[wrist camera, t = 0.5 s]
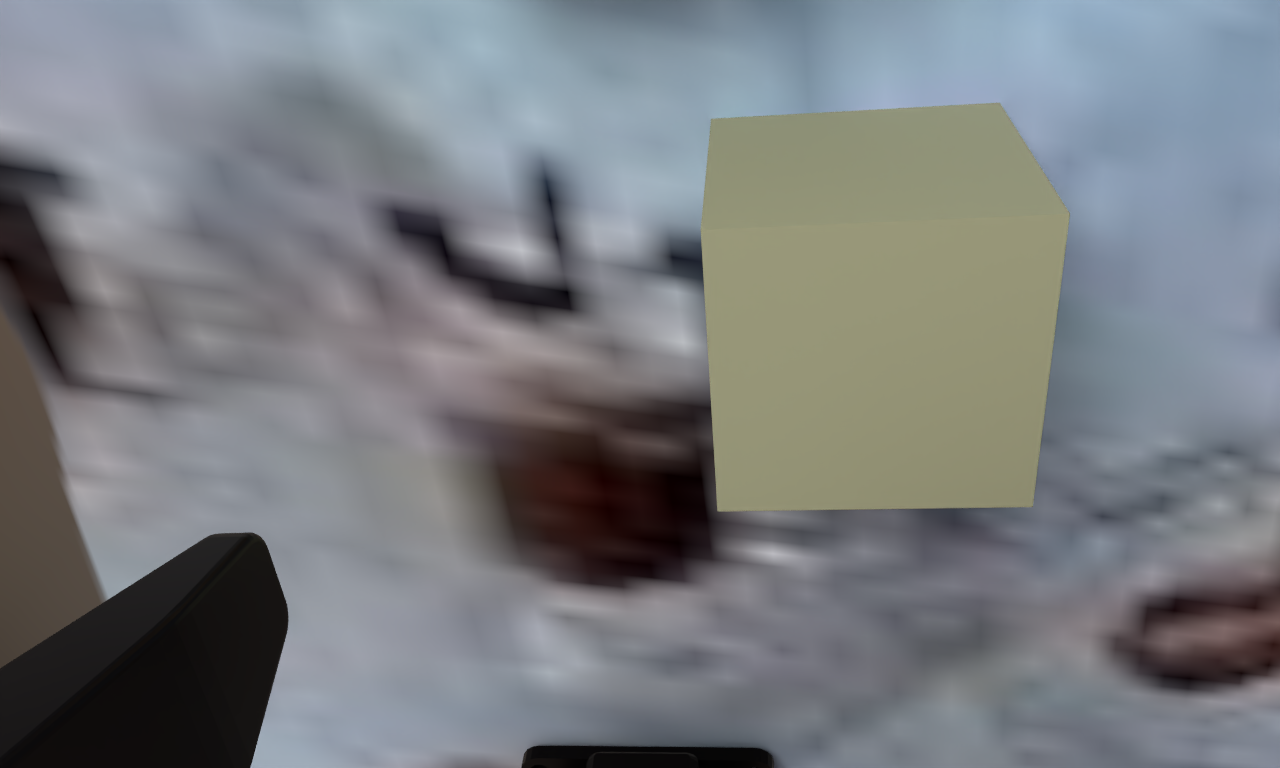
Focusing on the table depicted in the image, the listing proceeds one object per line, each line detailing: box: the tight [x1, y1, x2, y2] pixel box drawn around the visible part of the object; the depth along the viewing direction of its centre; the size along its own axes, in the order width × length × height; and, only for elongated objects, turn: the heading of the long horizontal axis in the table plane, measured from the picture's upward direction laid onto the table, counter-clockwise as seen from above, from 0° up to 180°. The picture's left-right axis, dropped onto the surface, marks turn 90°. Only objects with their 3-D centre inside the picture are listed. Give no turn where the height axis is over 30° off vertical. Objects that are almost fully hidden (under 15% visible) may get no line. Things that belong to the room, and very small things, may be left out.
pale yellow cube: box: [701, 103, 1070, 511], centre depth 19 cm, size 5×5×5 cm
